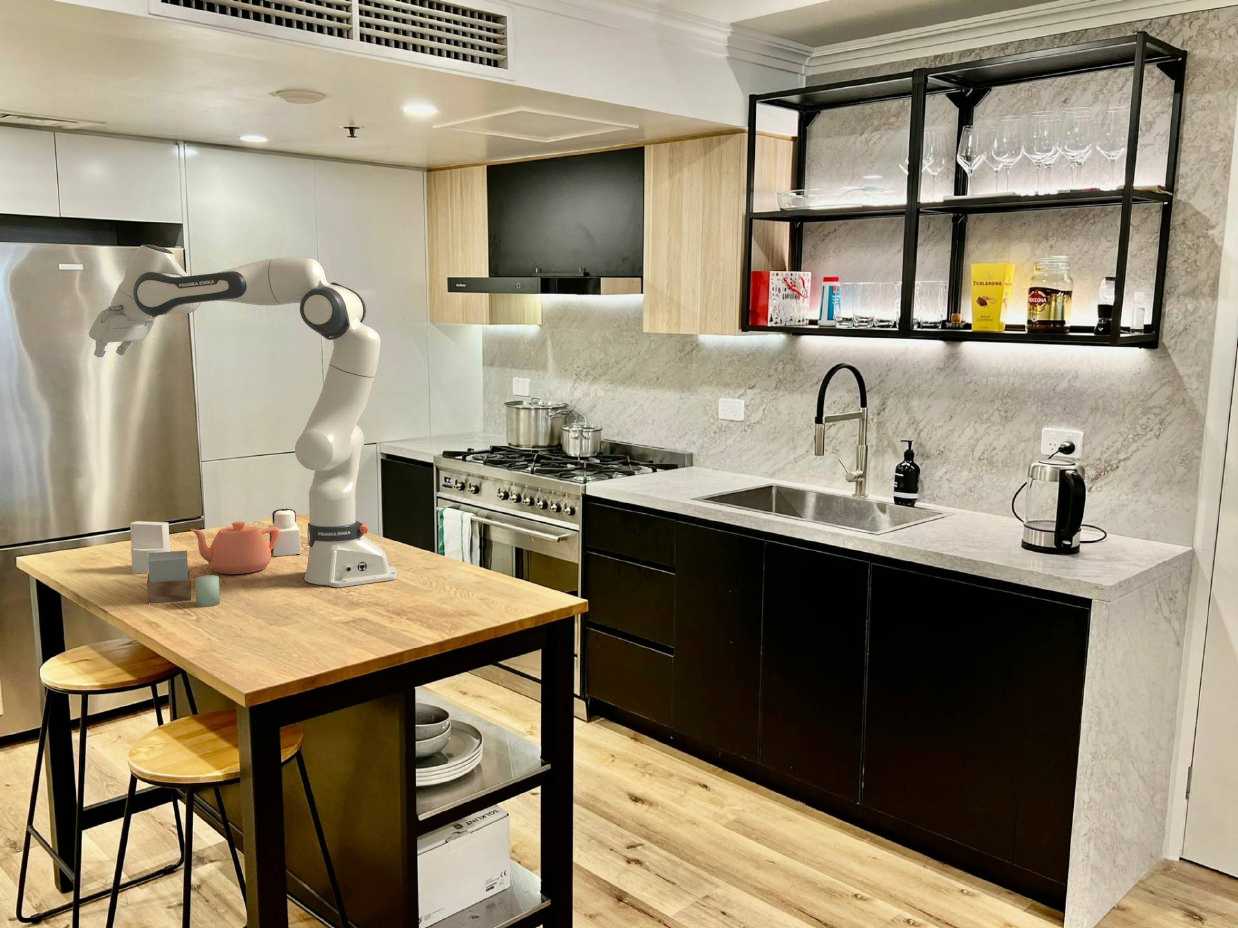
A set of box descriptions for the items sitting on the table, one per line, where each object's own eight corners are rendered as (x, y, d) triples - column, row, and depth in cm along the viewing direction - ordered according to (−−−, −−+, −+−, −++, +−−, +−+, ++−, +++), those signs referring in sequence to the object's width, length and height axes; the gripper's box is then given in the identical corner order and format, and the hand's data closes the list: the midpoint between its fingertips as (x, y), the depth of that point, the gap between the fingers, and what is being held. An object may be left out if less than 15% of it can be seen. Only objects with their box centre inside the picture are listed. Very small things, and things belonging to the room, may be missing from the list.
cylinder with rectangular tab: (177, 565, 265) (175, 520, 263) (159, 574, 256) (156, 527, 254) (144, 564, 266) (142, 518, 264) (124, 573, 257) (122, 526, 255)
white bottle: (270, 551, 282) (268, 508, 280) (297, 549, 285) (295, 506, 283) (273, 557, 275) (271, 513, 273) (300, 554, 278) (299, 511, 276)
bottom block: (190, 590, 243) (190, 570, 243) (191, 601, 235) (190, 580, 234) (149, 594, 240) (148, 573, 239) (148, 605, 232) (147, 583, 231)
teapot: (198, 582, 250) (196, 533, 248) (184, 568, 262) (182, 521, 260) (289, 570, 262) (287, 523, 260) (272, 558, 274) (270, 513, 272)
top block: (187, 571, 242) (186, 550, 241) (188, 579, 235) (187, 558, 234) (150, 573, 239) (149, 552, 238) (149, 582, 232) (148, 561, 231)
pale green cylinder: (219, 599, 236) (218, 574, 235) (220, 605, 232) (219, 579, 231) (196, 601, 234) (194, 576, 233) (196, 607, 230) (195, 581, 229)
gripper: (119, 312, 240) (95, 364, 242) (164, 311, 260) (142, 359, 263) (95, 299, 240) (72, 350, 242) (143, 299, 260) (121, 346, 263)
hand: (109, 355), depth 253 cm, fingers open, 8 cm apart
